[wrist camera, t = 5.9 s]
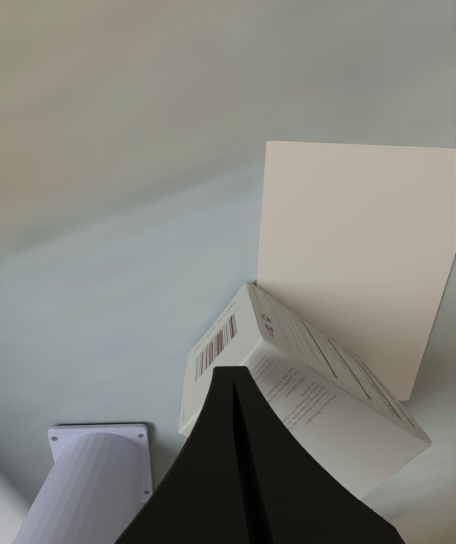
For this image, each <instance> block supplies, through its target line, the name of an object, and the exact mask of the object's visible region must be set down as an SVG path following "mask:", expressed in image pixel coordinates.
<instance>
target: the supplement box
mask: <svg viewBox="0 0 456 544" xmlns="http://www.w3.org/2000/svg"><path fill="white" fill-rule="evenodd" d="M216 366H247V367H248V369H249V371H250V373H251V375H252V377H253V379H254V380H255V382H256V384H257V386H258V387H259V389H260V391H261V392H262V394H263V396H264V397H265V399H266V400H267V401H268V403H269V404H270V406H271V407H272V409H273V410H274V412H275V413H276V414H277V416H278V417H279V418H280V420H281V421H282V422H283V424H284V425H285V426H286V428H287V429H288V430H289V431H290V432H291V434H292V435H293V436H294V437H295V438H296V440H297V441H298V442H299V443H300V444H301V445H302V446H303V447H304V448H305V450H306V451H307V452H308V453H309V454H310V455H311V456H312V457H313V458H314V459H315V460H316V461H317V462H318V463H319V464H320V465H321V466H322V467H323V468H324V469H325V470H326V471H327V472H328V473H330V474H331V475H332V476H333V477H334V478H335V479H336V480H337V481H338V482H339V483H340V484H341V485H342V486H343V487H345V488H346V489H347V490H348V491H349V492H350V493H352V494H353V495H354V496H355V497H356V498H358V499H359V500H361V499H362V498H364V497H365V496H366V495H367V494H369V493H370V492H371V491H373V490H374V489H375V488H377V487H378V486H379V485H381V484H382V483H384V482H385V481H386V480H387V479H388V478H389V477H391V476H392V475H393V474H394V473H396V472H397V471H398V470H400V469H401V468H402V467H404V466H405V465H406V464H407V463H409V462H410V461H411V460H412V459H414V458H415V457H416V456H418V455H419V454H420V453H422V452H423V451H424V450H425V449H427V448H428V447H429V446H430V445H431V443H432V441H431V439H430V438H429V437H428V435H427V434H426V433H425V432H424V431H423V429H422V428H421V427H420V426H419V425H418V424H417V422H416V421H415V420H414V419H413V418H412V416H411V415H410V414H409V413H408V412H407V410H406V409H405V408H404V407H403V406H402V405H401V403H400V402H399V401H398V400H397V399H396V397H395V396H394V395H393V394H392V393H391V392H390V390H389V389H388V388H387V387H386V386H385V385H384V383H383V382H382V381H381V380H380V379H379V377H378V376H377V375H376V374H375V372H374V371H373V370H372V369H371V367H370V366H369V365H368V364H367V363H366V362H364V361H363V360H361V359H360V358H358V357H357V356H355V355H354V354H353V353H351V352H350V351H348V350H347V349H345V348H344V347H342V346H341V345H340V344H338V343H337V342H335V341H334V340H332V339H331V338H329V337H328V336H326V335H325V334H323V333H322V332H320V331H319V330H318V329H316V328H315V327H313V326H312V325H310V324H309V323H307V322H306V321H305V320H303V319H302V318H301V317H299V316H298V315H296V314H295V313H293V312H292V311H291V310H289V309H288V308H286V307H285V306H283V305H282V304H281V303H279V302H278V301H276V300H275V299H274V298H272V297H271V296H269V295H268V294H266V293H265V292H264V291H262V290H261V289H259V288H258V287H256V286H255V285H253V284H252V283H250V282H245V283H244V284H243V285H242V287H241V288H240V289H239V291H238V293H237V294H236V295H235V297H234V298H233V299H232V301H231V302H230V303H229V304H228V306H227V307H226V308H225V309H224V311H223V312H222V313H221V315H220V316H219V317H218V318H217V320H216V321H215V322H214V323H213V325H212V326H211V327H210V328H209V329H208V331H207V332H206V333H205V334H204V335H203V337H202V338H201V339H200V340H199V341H198V343H197V344H196V345H195V346H194V347H193V348H191V349H190V350H189V352H188V358H187V366H186V373H185V380H184V388H183V396H182V404H181V412H180V420H179V433H180V434H182V435H184V436H186V437H189V435H190V433H191V431H192V429H193V427H194V425H195V423H196V421H197V418H198V416H199V414H200V412H201V409H202V407H203V404H204V402H205V399H206V396H207V393H208V390H209V387H210V384H211V380H212V374H213V368H214V367H216Z"/></svg>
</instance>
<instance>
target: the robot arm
mask: <svg viewBox="0 0 456 544" xmlns="http://www.w3.org/2000/svg"><path fill="white" fill-rule="evenodd" d="M48 438H49V442H50V446H51V450H52V454H53V458H54V462H55V464H54V465H53V467H52V469H51V471H50V473H49V475H48V477H47V479H46V480H45V482H44V484H43V486H42V488H41V490H40V492H39V494H38V495H37V497H36V499H35V501H34V503H33V505H32V507H31V509H30V510H29V512H28V514H27V516H26V518H25V520H24V522H23V524H22V525H21V527H20V529H19V531H18V533H17V535H16V537H15V539H14V540H13V542H12V544H405V542H404V541H403V539H402V538H401V536H400V535H399V533H398V531H397V530H396V528H395V527H394V526H393V525H391V524H390V523H389V522H387V521H386V520H385V519H383V518H382V517H381V516H379V515H378V514H377V513H376V512H374V511H373V510H372V509H370V508H369V507H368V506H366V505H365V504H364V503H363V502H361V501H360V500H359V499H358V498H356V497H355V496H354V495H353V494H352V493H350V492H349V491H348V490H347V489H346V488H345V487H343V486H342V485H341V484H340V483H339V482H338V481H337V480H336V479H335V478H334V477H333V476H332V475H331V474H330V473H328V472H327V471H326V470H325V469H324V468H323V467H322V466H321V465H320V464H319V463H318V462H317V461H316V460H315V459H314V458H313V457H312V456H311V455H310V454H309V453H308V452H307V451H306V450H305V448H304V447H303V446H302V445H301V444H300V443H299V442H298V441H297V440H296V438H295V437H294V436H293V435H292V434H291V432H290V431H289V430H288V429H287V428H286V426H285V425H284V424H283V422H282V421H281V420H280V418H279V417H278V416H277V414H276V413H275V412H274V410H273V409H272V407H271V406H270V404H269V403H268V401H267V400H266V399H265V397H264V396H263V394H262V392H261V391H260V389H259V387H258V386H257V384H256V382H255V380H254V379H253V377H252V375H251V373H250V371H249V369H248V367H247V366H216V367H214V368H213V374H212V380H211V384H210V387H209V390H208V393H207V396H206V399H205V402H204V404H203V407H202V409H201V412H200V414H199V416H198V418H197V421H196V423H195V425H194V427H193V429H192V431H191V433H190V435H189V437H188V439H187V441H186V443H185V444H184V446H183V448H182V450H181V451H180V453H179V455H178V456H177V458H176V460H175V461H174V463H173V465H172V466H171V468H170V469H169V471H168V473H167V474H166V476H165V477H164V479H163V480H162V481H161V483H160V484H159V486H158V487H157V488H156V490H155V491H154V493H153V485H152V473H151V462H150V450H149V438H148V428H147V426H146V425H145V424H111V425H73V426H52V427H51V428H50V429H49V431H48ZM141 503H146V504H145V505H144V506H143V508H142V509H141V510H140V508H141Z"/></svg>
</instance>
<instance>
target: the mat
mask: <svg viewBox="0 0 456 544" xmlns="http://www.w3.org/2000/svg"><path fill="white" fill-rule="evenodd" d="M455 253H456V149H453V148H429V147H405V146H381V145H357V144H333V143H309V142H285V141H267V144H266V158H265V172H264V186H263V200H262V214H261V228H260V242H259V256H258V271H257V285H256V287H258V288H259V289H261V290H262V291H264V292H265V293H266V294H268V295H269V296H271V297H272V298H274V299H275V300H276V301H278V302H279V303H281V304H282V305H283V306H285V307H286V308H288V309H289V310H291V311H292V312H293V313H295V314H296V315H298V316H299V317H301V318H302V319H303V320H305V321H306V322H307V323H309V324H310V325H312V326H313V327H315V328H316V329H318V330H319V331H320V332H322V333H323V334H325V335H326V336H328V337H329V338H331V339H332V340H334V341H335V342H337V343H338V344H340V345H341V346H342V347H344V348H345V349H347V350H348V351H350V352H351V353H353V354H354V355H355V356H357V357H358V358H360V359H361V360H363V361H364V362H366V363H367V364H368V365H369V366H370V367H371V369H372V370H373V371H374V372H375V374H376V375H377V376H378V377H379V379H380V380H381V381H382V382H383V383H384V385H385V386H386V387H387V388H388V389H389V390H390V392H391V393H392V394H393V395H394V396H395V397H396V399H397V400H398V401H409V399H410V395H411V392H412V389H413V386H414V383H415V380H416V376H417V373H418V370H419V367H420V364H421V361H422V358H423V354H424V351H425V348H426V345H427V342H428V339H429V335H430V332H431V329H432V326H433V323H434V320H435V317H436V313H437V310H438V307H439V304H440V301H441V298H442V294H443V291H444V288H445V285H446V282H447V279H448V276H449V272H450V269H451V266H452V263H453V260H454V257H455Z"/></svg>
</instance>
